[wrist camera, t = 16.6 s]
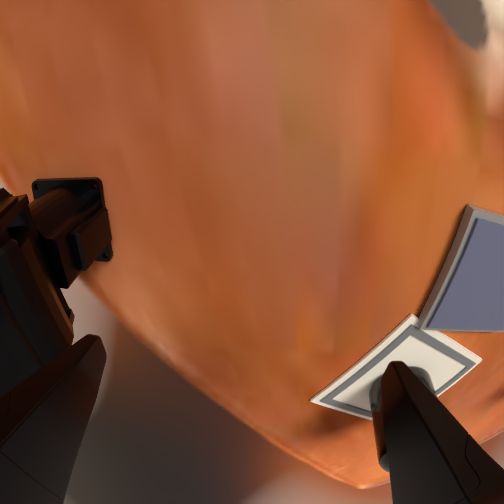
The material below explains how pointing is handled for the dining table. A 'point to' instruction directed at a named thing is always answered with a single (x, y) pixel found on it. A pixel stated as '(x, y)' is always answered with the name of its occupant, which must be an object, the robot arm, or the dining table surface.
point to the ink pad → (470, 278)
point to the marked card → (399, 349)
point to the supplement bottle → (377, 416)
